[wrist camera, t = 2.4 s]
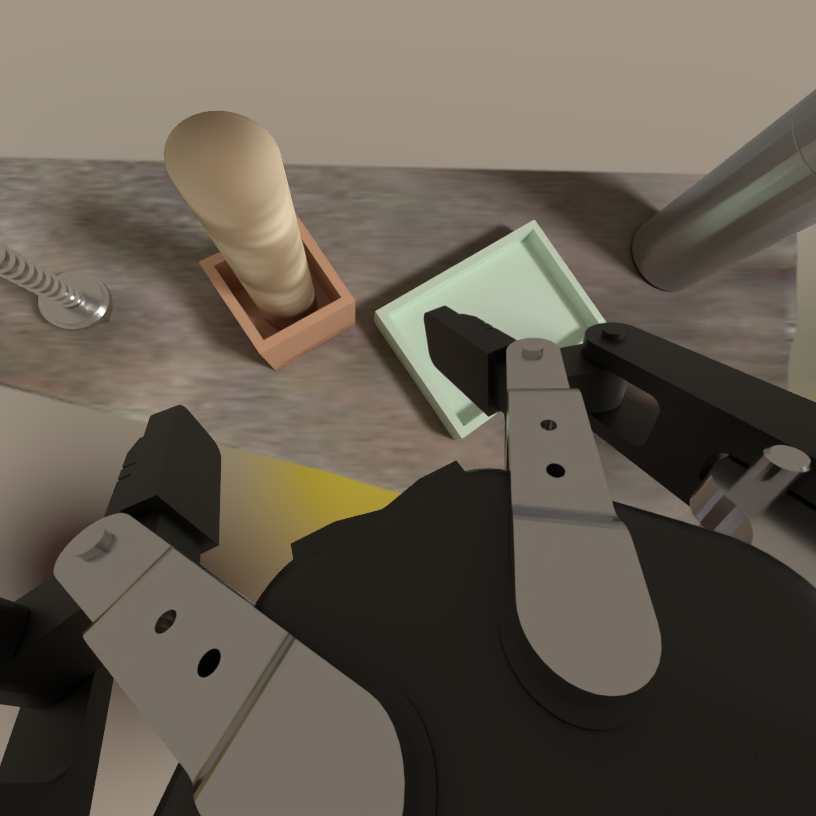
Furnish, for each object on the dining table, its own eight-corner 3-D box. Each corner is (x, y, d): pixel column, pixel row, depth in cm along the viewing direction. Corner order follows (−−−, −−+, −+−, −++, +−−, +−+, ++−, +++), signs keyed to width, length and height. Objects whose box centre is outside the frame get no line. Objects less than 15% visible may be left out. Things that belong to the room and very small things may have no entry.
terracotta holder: (306, 252, 31) (297, 215, 26) (355, 324, 31) (355, 300, 26) (224, 293, 29) (198, 261, 24) (275, 370, 29) (259, 354, 24)
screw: (54, 332, 26) (71, 280, 27) (119, 342, 27) (133, 290, 28) (-223, 222, 14) (-178, 128, 14) (-89, 246, 14) (-52, 156, 15)
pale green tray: (521, 235, 35) (534, 219, 33) (593, 338, 35) (611, 329, 33) (373, 322, 31) (375, 311, 29) (453, 439, 31) (462, 438, 28)
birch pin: (298, 271, 30) (244, 96, 15) (328, 315, 30) (302, 181, 15) (250, 296, 29) (141, 134, 14) (280, 341, 29) (202, 225, 14)
